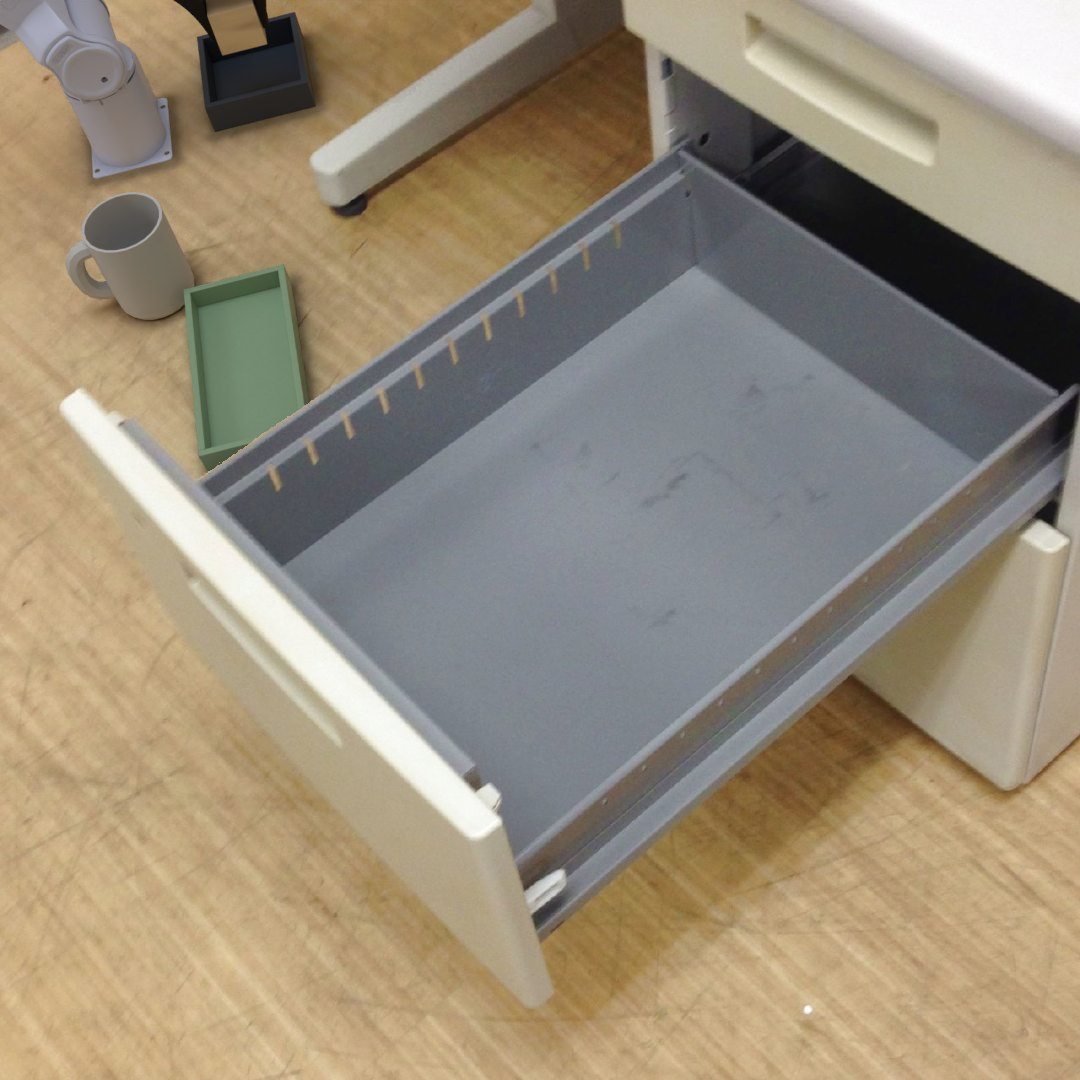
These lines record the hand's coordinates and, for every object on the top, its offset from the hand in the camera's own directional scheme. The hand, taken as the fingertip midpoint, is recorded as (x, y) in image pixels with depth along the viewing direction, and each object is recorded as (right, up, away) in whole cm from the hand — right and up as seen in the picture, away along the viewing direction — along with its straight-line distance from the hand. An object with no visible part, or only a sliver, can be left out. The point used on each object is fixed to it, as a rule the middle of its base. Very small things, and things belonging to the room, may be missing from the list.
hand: (240, 28), depth 144 cm
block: (0, -1, +1) cm, 1 cm away
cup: (-8, -27, -6) cm, 28 cm away
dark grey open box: (+1, -3, +8) cm, 9 cm away
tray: (+4, -34, -13) cm, 37 cm away
